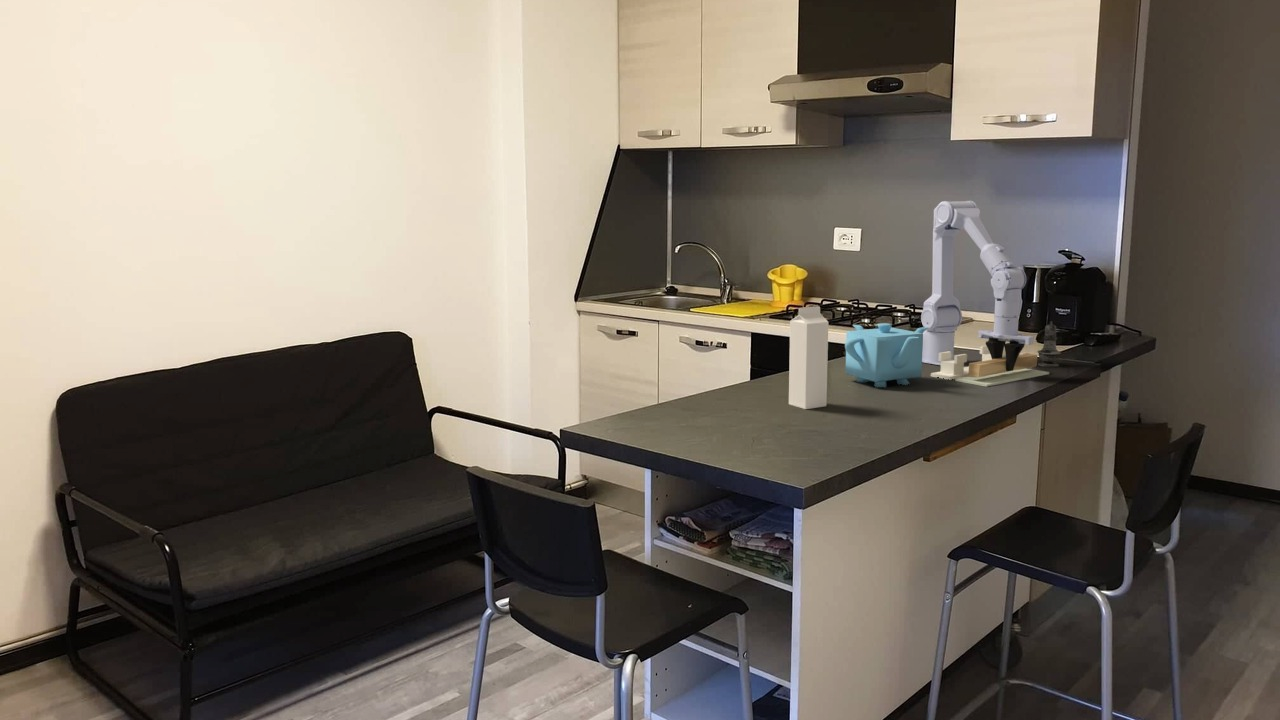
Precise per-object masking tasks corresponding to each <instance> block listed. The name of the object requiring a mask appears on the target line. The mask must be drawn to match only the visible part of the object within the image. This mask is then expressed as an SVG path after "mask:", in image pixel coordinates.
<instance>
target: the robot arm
mask: <svg viewBox="0 0 1280 720" xmlns="http://www.w3.org/2000/svg"><path fill="white" fill-rule="evenodd" d="M932 228H933V229H932V268H931V269H932V273H931V274H932V280H931V282H932V283H931V285H932V290H931V296H929V297H928V298H927V299H926V300H925V301H924V302H923V308H922V311H921V315H920V320H921V323H922V327H929V328H928V329H927V330H925V331H924V332H923V352H922V363H924V364H930V365H931V364H932V365H937V366H941V361H938V357H939V353H941V352H948V351H950V352H951V359H952V360H954V355H955V354H954V351H955V332H956V331H958V327H960V325H961V323H962V321H963V313H962V310H961V302H960V300H958V298H957V297H955V295H954V267H955V266H954V260H955V259H954V258H955V257H954V253H955V252H954V251H955V249H954V248H955V247H954V246H955V236H957V234H958V233H960V231H962V230H964V231H965V232H966V234H968V236H970V239H971V240H972V241H973V242H974V244H975V245H976V246H977V247H978V248H979V250H980V254H979V258H980V260H981V261H982V263H983V265H984V266H985V268H986V269H987V271H988V272H989V274H990V276H991V277H992V278H990V286H991V287H992V290H993V298H995V300H994V316H993V330H985V329H981V330H980V329H979V330H978V333H977V335H978V336H977V338H978V339H985V340H987V341H985V345H986V346H987V348H988V350H989V352H990V354H991V358H992V359H997V358H1002V354H1003V349H1004V347H1005V352H1006V355H1005V357H1006V371H1013V369H1014V366H1015V363H1016V360H1017V358H1018V356H1019V355H1020V354H1021V352H1022V351H1023V349H1024V347H1025V345H1026V346H1031V345H1034V339H1035V338H1034V336H1033V335H1026V334H1021V333H1019V319H1020V318H1019V316H1020V303H1021V302H1020V301H1021V300H1020V299H1021V290H1023V289H1024V287H1025V286H1026V284H1027V275H1026V273H1025V270H1024V269H1023V268H1022V267H1020V266H1017V265H1016V264H1014V263H1013V262H1012V261H1011V259H1010V257H1009V255H1007V253H1006V251H1005V248H1004V246H1002V245H1000V244H998V243H994V241H993V240H992V237H991V236H990V234H989V232H988V231H987V228H986V227H985V224H984V223H983V222H982V220H981V210H980V209H979V207H978V205H977V203H976V202H975V201H973V200H965V201H957V200H955V201H947V200H944V201H941V202H940V203H938V204H937V206H936V207H935V208H934V209H933V227H932Z"/></svg>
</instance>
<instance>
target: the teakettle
mask: <svg viewBox="0 0 1280 720" xmlns="http://www.w3.org/2000/svg"><path fill="white" fill-rule="evenodd" d="M892 325H893V324H892V323H887V322H885V323H877V326H878V327H877V328H869V329H865V328H864V327H863V326H862V325H859V324H852V327H853V328H854V329H855V330H847V331H846V335H845V336H846V338H845V339H846V340H845V341H846V342H844V349H845V375H849V376H852V377H856V378H857V379H856V381H855V382H857V383H868V382H873V383H874V384H873V387H874V386H875V387H874V388H878V387H884V388H887V381H895V380H896V383H897V384H898V385H900V384H902V385H903V386H909V385H911V384H910V381H909V380H908V379H915V378H922V372H923V370H922V369H923V362H922V352H923V332H924V331H925V330H927V329H928V328H929V327H924V326H922V327H918V328H916V330H915V331H912V330H906V329H901V328H895V327H892ZM908 384H909V385H908ZM902 385H901V386H902Z"/></svg>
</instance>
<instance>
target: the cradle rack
mask: <svg viewBox="0 0 1280 720" xmlns="http://www.w3.org/2000/svg"><path fill="white" fill-rule="evenodd" d="M979 354H980V355H981V361H986V360H991V359H992V358H991V354H990V352H989V350H988V348H987V346H986V344H985V345H981V346H980V345H979ZM1003 357H1006V352H1005V347H1004V349H1003V354H1002V358H1003ZM938 361H941V365H940V371H936V372H931V373H930V377H933V378H937V377H939V379H943V378H944V380H948V379H949V381H952V379H953V380H955V379H957V378H963V377H968V376H969V375H968V374H969V365H968V366H965V363H967V362H968V354H967V353H962V354H954V357H953V360H952V359H951V352H950V351H948V352H941V353H939V357H938Z"/></svg>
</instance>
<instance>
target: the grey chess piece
mask: <svg viewBox="0 0 1280 720" xmlns="http://www.w3.org/2000/svg"><path fill="white" fill-rule="evenodd" d="M1042 339H1043V346H1042V349H1040V350H1037V353H1038V356H1039V357H1038V358H1039V359H1040V360H1041V361H1040V362H1039V363H1038V362H1037V366H1040V367H1047V368H1057V367H1059V366H1060V364H1058V363H1057V362H1056V361H1058V360H1059V358H1060V355H1061V354H1062V352H1061V351H1060V350H1058V349H1057V340H1058V337H1057V326H1056V325H1055V324H1053V321H1052V320H1051V321H1050V322H1049V323H1048V324H1046V325H1045V327H1044V336H1043V337H1042Z"/></svg>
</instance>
